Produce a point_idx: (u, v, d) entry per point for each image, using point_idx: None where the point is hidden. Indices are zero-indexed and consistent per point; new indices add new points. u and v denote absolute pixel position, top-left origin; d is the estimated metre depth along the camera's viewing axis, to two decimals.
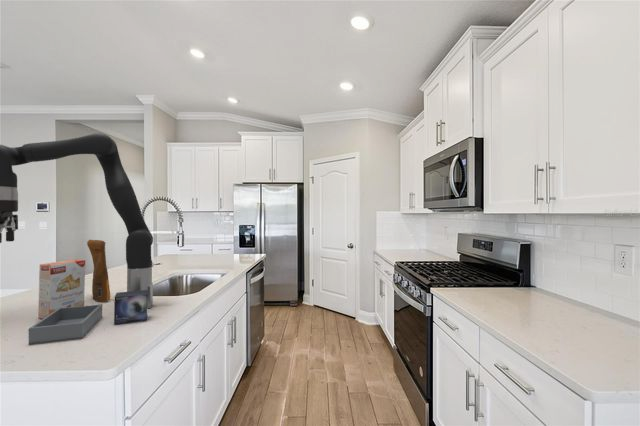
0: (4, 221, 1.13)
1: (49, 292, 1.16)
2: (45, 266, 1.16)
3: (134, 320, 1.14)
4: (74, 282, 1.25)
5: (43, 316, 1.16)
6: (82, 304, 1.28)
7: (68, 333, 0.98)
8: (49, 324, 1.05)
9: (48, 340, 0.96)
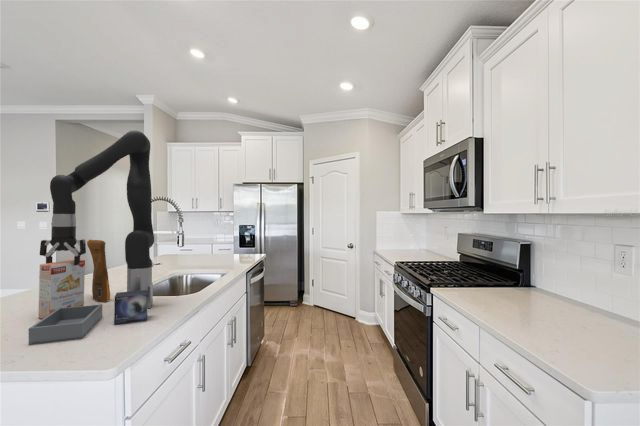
0: (73, 245, 1.25)
1: (50, 292, 1.16)
2: (45, 266, 1.16)
3: (134, 320, 1.14)
4: (74, 282, 1.25)
5: (43, 316, 1.16)
6: (82, 304, 1.28)
7: (68, 333, 0.98)
8: (49, 324, 1.05)
9: (48, 340, 0.96)
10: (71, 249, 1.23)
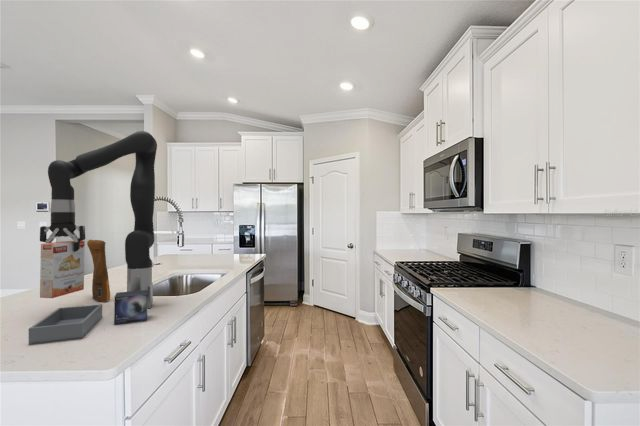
0: None
1: (52, 271, 1.16)
2: (47, 245, 1.16)
3: (134, 320, 1.14)
4: (75, 262, 1.25)
5: (45, 295, 1.16)
6: (82, 285, 1.29)
7: (68, 333, 0.98)
8: (49, 324, 1.05)
9: (48, 340, 0.96)
10: (71, 235, 1.22)
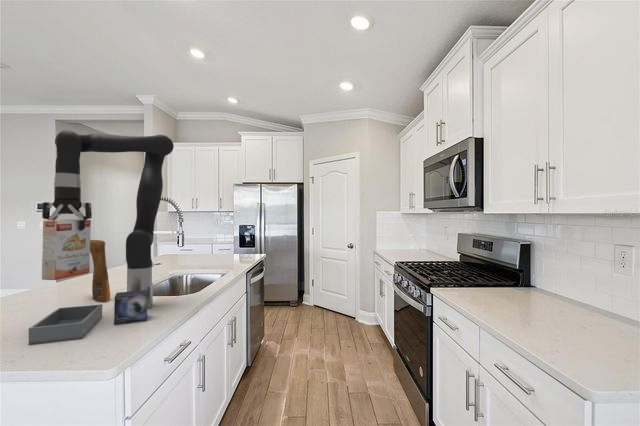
0: None
1: (56, 250, 1.06)
2: (50, 222, 1.06)
3: (134, 320, 1.14)
4: (80, 242, 1.15)
5: (48, 277, 1.06)
6: (88, 267, 1.19)
7: (68, 333, 0.98)
8: (49, 324, 1.05)
9: (48, 340, 0.96)
10: (76, 212, 1.12)
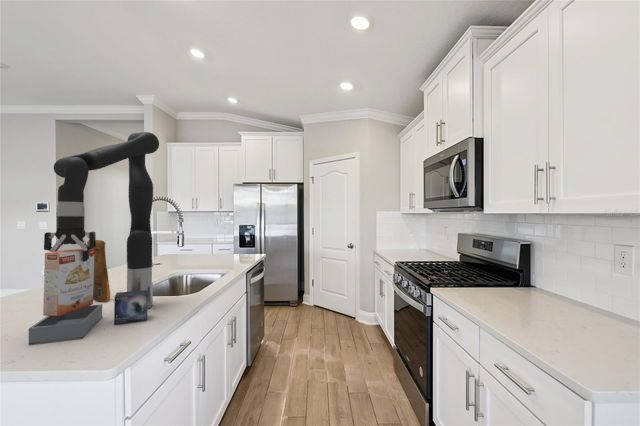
0: None
1: (58, 285, 1.00)
2: (52, 255, 1.00)
3: (134, 320, 1.14)
4: (84, 273, 1.09)
5: (50, 313, 1.00)
6: (91, 299, 1.13)
7: (68, 333, 0.98)
8: (49, 324, 1.05)
9: (48, 340, 0.96)
10: (79, 242, 1.06)
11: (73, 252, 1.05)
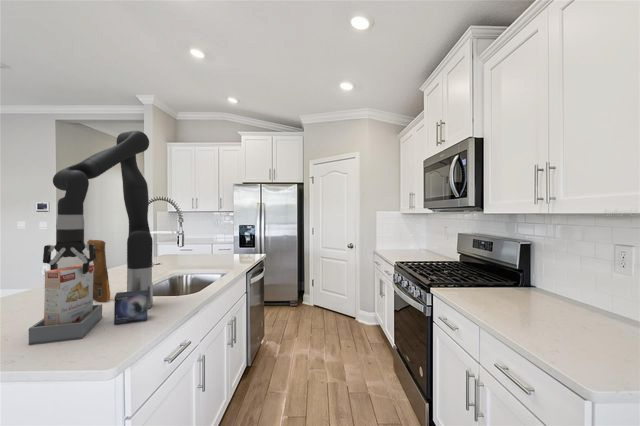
0: (81, 251, 1.09)
1: (59, 303, 1.00)
2: (53, 273, 1.00)
3: (134, 320, 1.14)
4: (83, 290, 1.09)
5: None
6: None
7: (68, 333, 0.98)
8: None
9: (48, 340, 0.96)
10: (79, 255, 1.06)
11: (73, 270, 1.05)
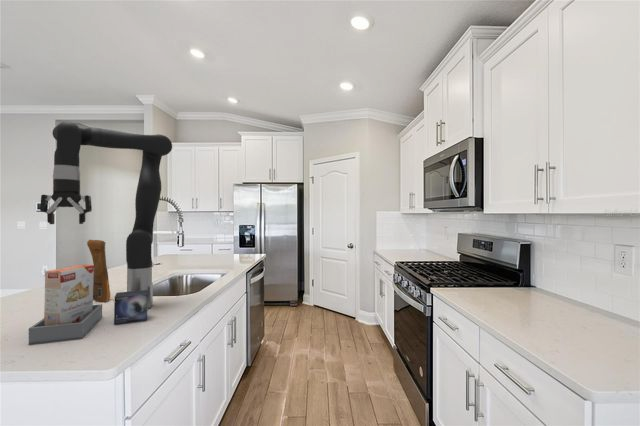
0: (77, 202, 1.13)
1: (59, 303, 1.00)
2: (53, 273, 1.00)
3: (134, 320, 1.14)
4: (84, 290, 1.09)
5: None
6: None
7: (68, 333, 0.98)
8: None
9: (48, 340, 0.96)
10: (75, 205, 1.10)
11: (73, 270, 1.05)
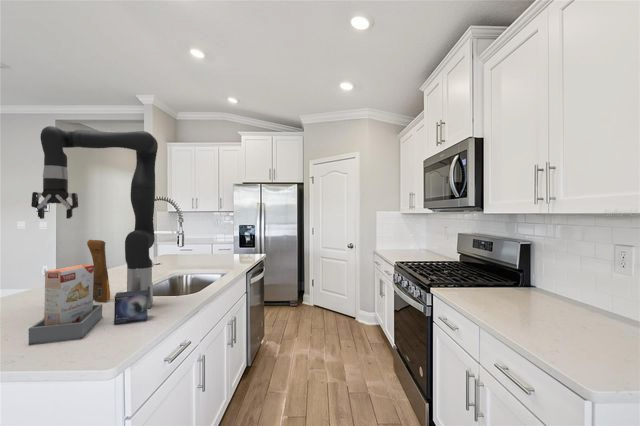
0: (65, 199, 1.25)
1: (59, 303, 1.00)
2: (53, 273, 1.00)
3: (134, 320, 1.14)
4: (84, 290, 1.09)
5: None
6: None
7: (68, 333, 0.98)
8: None
9: (48, 340, 0.96)
10: (63, 202, 1.22)
11: (73, 270, 1.05)
